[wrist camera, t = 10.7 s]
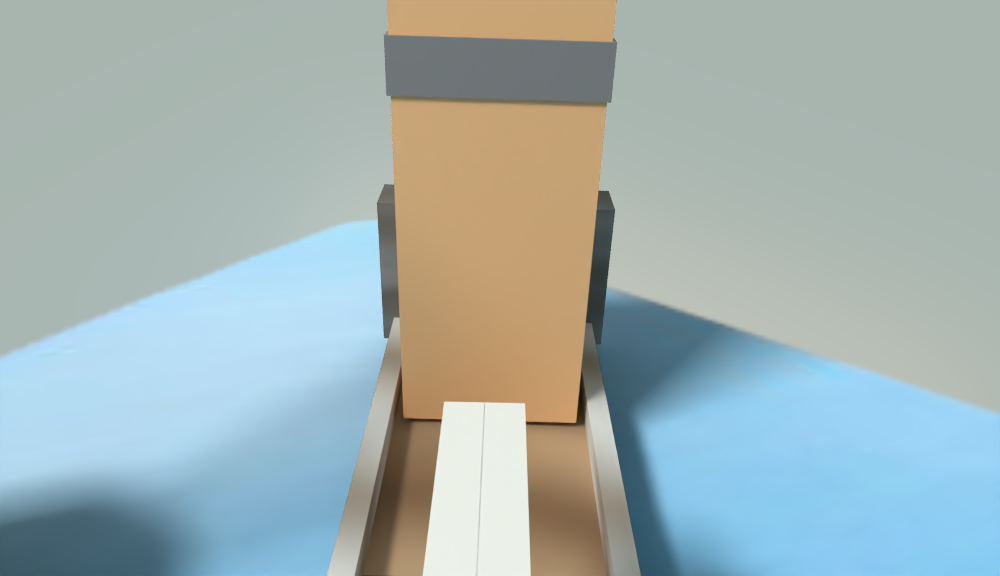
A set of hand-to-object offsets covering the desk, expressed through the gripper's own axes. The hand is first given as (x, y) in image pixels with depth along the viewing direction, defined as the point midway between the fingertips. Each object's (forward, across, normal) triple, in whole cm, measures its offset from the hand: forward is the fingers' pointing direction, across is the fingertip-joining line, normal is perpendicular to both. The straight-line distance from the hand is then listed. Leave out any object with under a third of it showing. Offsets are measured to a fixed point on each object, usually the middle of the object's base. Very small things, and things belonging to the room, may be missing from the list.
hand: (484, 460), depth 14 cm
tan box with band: (+12, 0, -7) cm, 14 cm away
